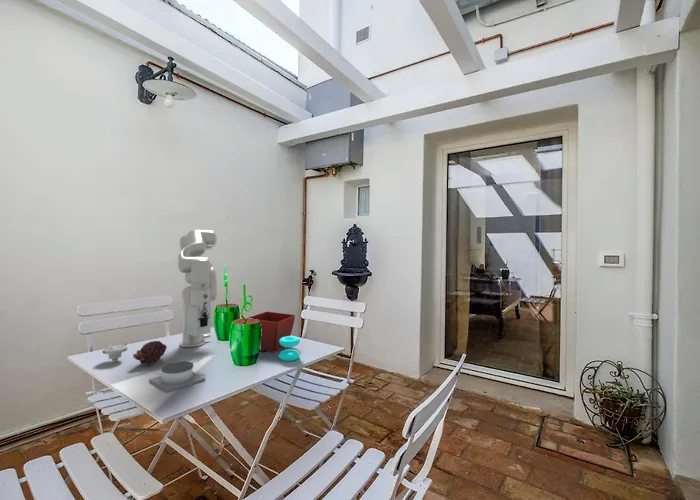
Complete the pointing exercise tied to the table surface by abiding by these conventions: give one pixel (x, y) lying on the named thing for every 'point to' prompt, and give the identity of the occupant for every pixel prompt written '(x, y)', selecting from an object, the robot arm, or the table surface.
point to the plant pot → (274, 329)
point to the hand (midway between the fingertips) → (198, 324)
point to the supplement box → (196, 321)
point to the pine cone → (150, 352)
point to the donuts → (289, 354)
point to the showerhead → (115, 351)
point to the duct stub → (176, 376)
